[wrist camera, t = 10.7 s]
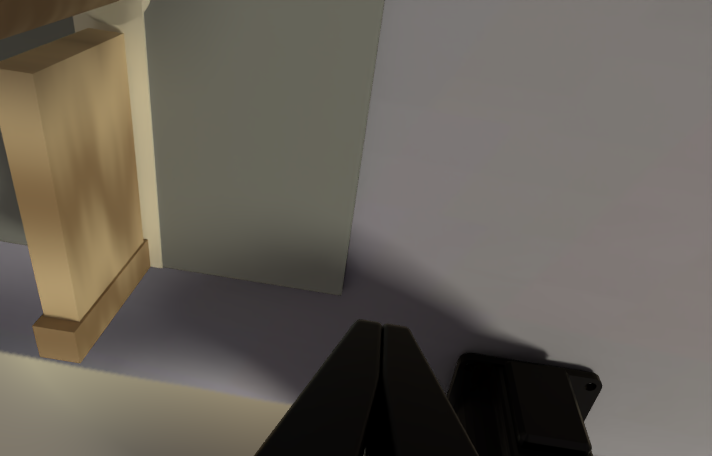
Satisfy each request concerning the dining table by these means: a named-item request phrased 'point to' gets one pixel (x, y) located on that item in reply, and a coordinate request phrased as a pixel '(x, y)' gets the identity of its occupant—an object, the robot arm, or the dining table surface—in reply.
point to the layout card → (238, 131)
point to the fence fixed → (73, 172)
